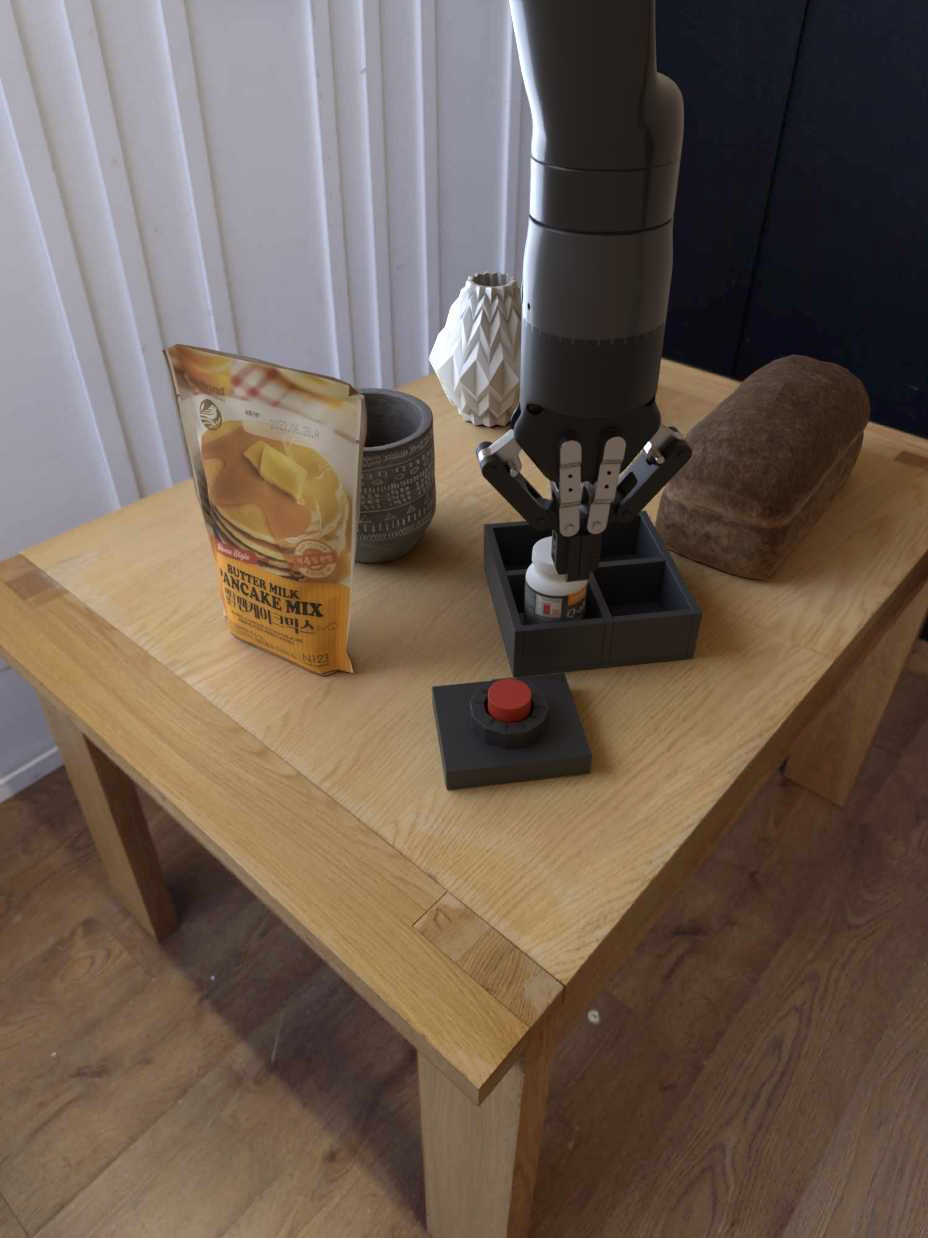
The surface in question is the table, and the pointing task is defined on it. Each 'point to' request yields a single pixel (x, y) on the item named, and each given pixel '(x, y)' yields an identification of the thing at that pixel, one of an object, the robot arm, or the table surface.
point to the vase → (482, 350)
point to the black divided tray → (595, 602)
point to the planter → (395, 475)
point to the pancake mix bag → (276, 497)
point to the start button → (509, 701)
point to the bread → (765, 466)
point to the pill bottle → (551, 590)
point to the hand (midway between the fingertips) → (574, 573)
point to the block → (509, 735)
